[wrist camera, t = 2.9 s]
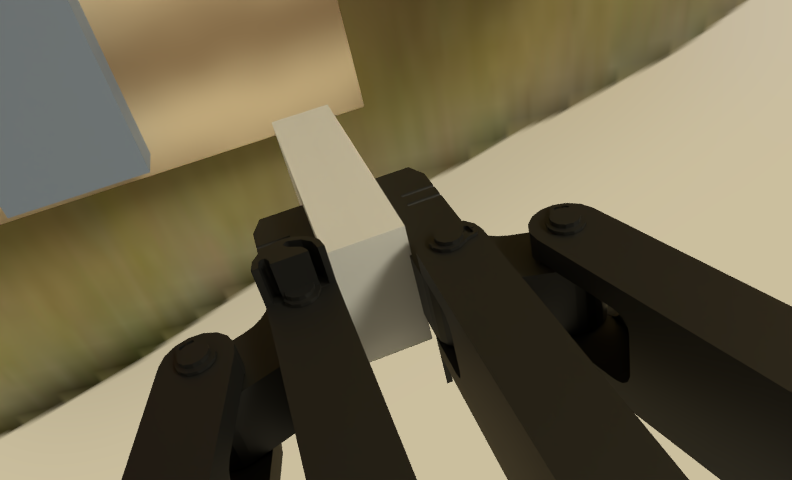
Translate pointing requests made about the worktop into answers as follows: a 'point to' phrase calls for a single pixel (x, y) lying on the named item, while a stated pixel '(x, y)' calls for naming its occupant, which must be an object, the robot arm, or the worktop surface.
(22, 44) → the blue-grey flat block
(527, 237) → the robot arm
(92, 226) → the worktop surface
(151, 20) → the tan block
